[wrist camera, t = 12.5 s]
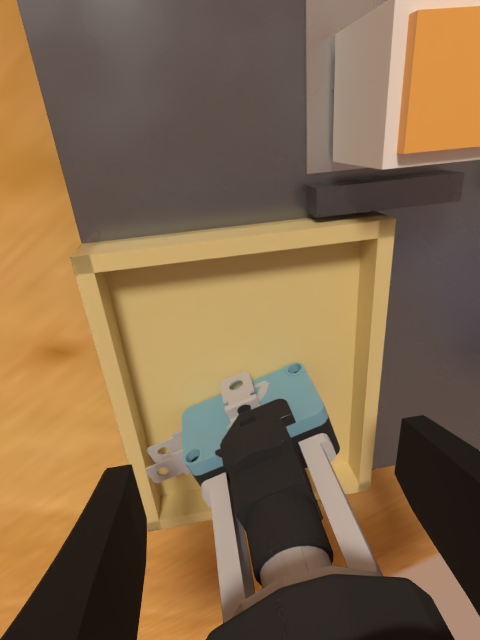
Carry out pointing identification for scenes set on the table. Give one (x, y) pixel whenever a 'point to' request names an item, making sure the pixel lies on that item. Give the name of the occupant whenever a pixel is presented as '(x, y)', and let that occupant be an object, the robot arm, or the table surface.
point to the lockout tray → (239, 332)
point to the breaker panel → (260, 164)
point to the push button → (287, 519)
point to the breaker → (408, 85)
